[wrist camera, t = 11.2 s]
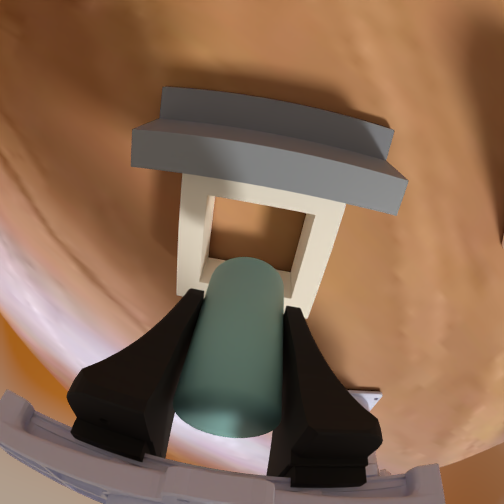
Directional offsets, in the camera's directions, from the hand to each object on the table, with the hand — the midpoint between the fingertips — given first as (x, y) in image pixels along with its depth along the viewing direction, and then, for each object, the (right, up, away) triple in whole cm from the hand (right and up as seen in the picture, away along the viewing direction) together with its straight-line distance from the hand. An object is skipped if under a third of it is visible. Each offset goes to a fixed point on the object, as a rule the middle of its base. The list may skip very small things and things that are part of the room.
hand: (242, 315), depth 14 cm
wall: (+2, +9, +5) cm, 10 cm away
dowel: (0, +1, +1) cm, 2 cm away
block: (+1, +4, +7) cm, 9 cm away
